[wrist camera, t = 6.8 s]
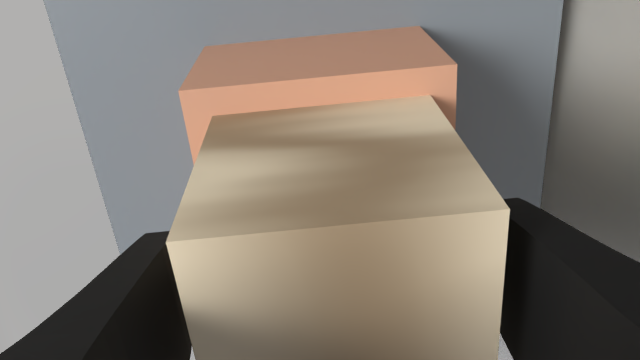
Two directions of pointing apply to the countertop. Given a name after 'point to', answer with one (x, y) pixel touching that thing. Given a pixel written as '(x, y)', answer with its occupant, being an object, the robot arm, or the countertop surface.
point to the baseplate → (280, 23)
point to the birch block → (340, 237)
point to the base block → (315, 75)
